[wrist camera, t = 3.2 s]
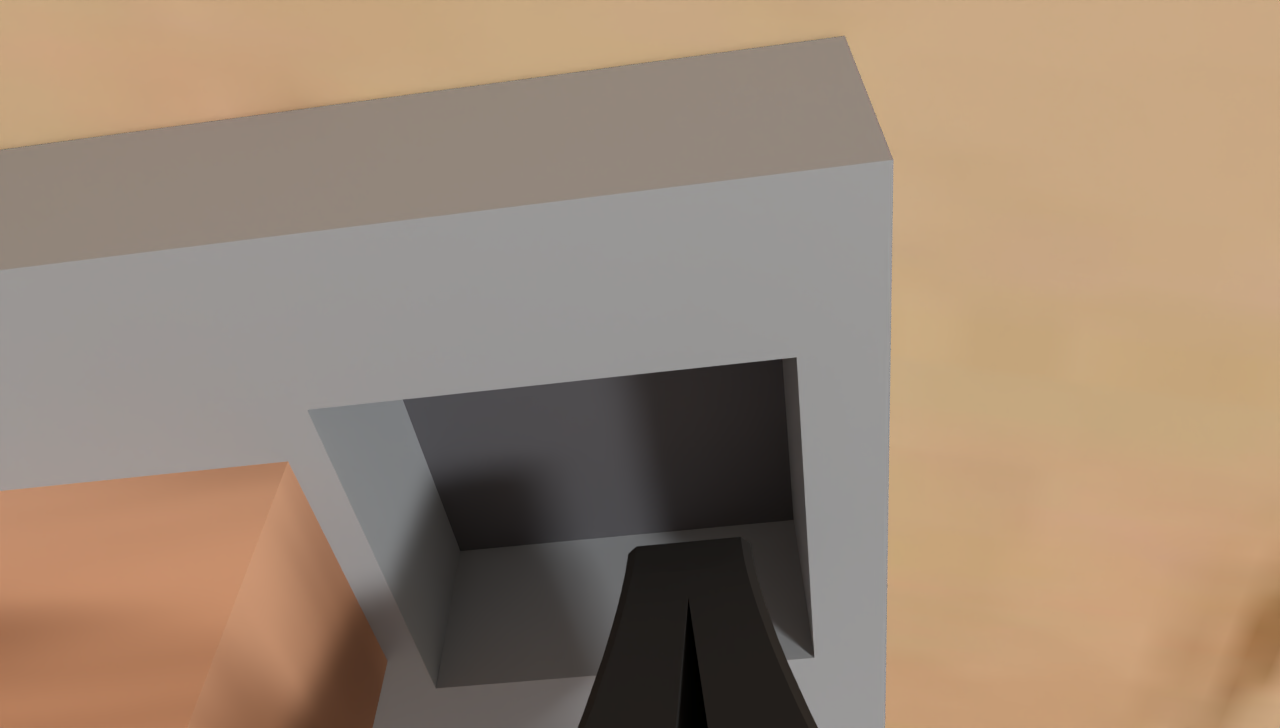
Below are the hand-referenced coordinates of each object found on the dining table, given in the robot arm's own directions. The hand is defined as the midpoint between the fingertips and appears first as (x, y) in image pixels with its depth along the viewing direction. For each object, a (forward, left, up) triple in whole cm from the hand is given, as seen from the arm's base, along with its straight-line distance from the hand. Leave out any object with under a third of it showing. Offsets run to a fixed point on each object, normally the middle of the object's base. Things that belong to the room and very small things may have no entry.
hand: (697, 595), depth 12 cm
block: (0, +7, -1) cm, 7 cm away
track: (0, +11, -4) cm, 11 cm away
